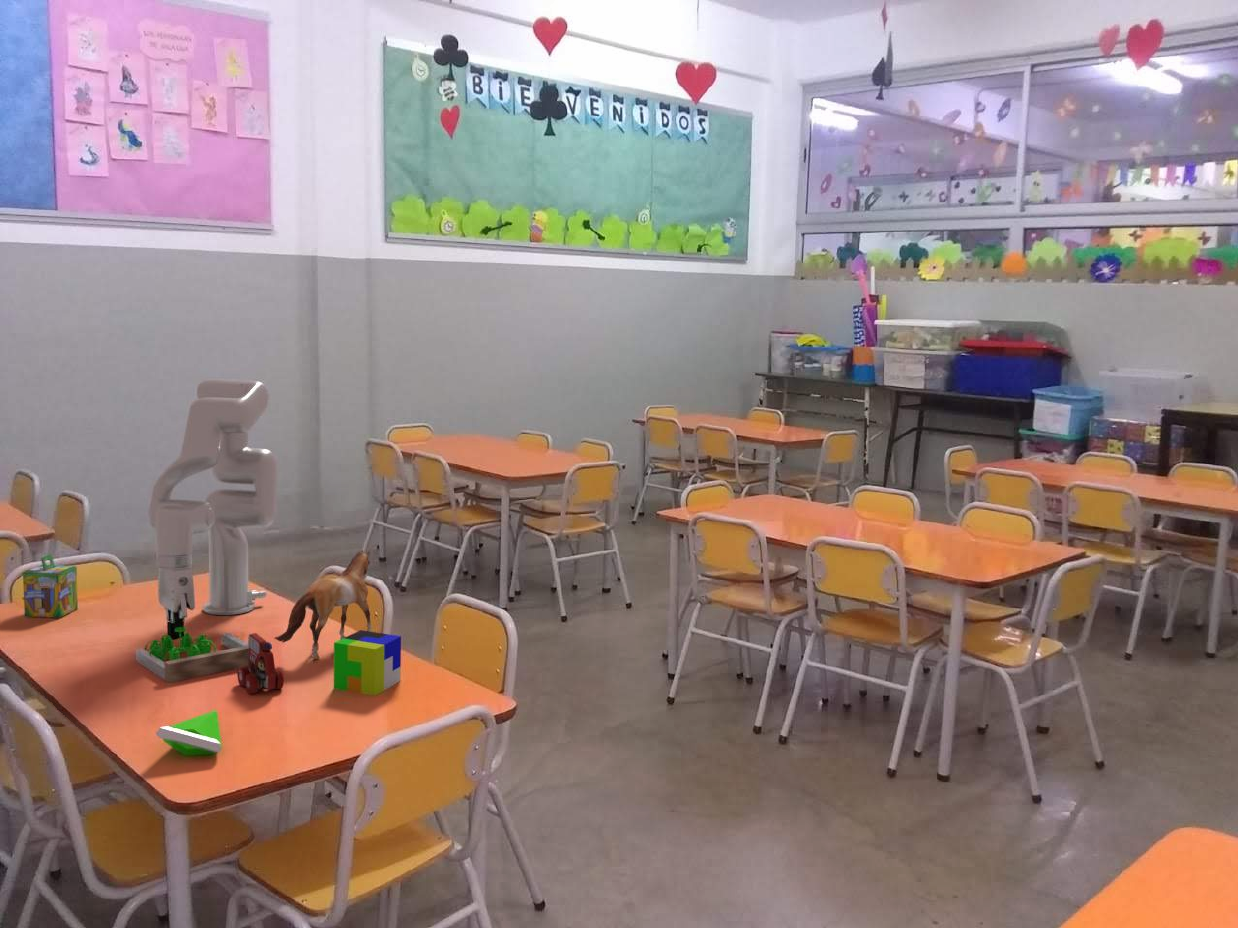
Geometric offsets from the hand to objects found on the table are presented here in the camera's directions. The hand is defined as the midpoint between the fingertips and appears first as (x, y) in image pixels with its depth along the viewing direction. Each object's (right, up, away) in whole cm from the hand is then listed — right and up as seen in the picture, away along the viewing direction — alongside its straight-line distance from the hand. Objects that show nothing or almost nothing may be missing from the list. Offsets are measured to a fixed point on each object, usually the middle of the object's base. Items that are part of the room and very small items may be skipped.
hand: (175, 638), depth 242 cm
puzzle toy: (+49, -7, -19) cm, 53 cm away
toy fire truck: (+27, -7, -23) cm, 36 cm away
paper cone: (+24, -10, -50) cm, 56 cm away
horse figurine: (+33, -3, +6) cm, 33 cm away
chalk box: (-41, +2, +23) cm, 47 cm away
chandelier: (+4, -4, -6) cm, 8 cm away
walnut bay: (+9, -4, -9) cm, 13 cm away
